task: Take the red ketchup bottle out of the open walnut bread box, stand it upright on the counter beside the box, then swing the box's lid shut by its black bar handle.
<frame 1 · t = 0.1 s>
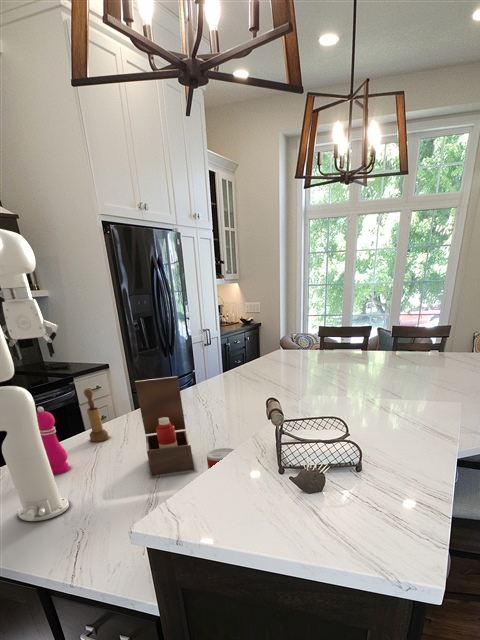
hand: (36, 358, 146), 31 cm above the table, tool pointing down, fingers open, 9 cm apart
bread box: (171, 466, 147), on the table
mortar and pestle: (100, 439, 175), on the table
pepper mill: (59, 470, 150), on the table
bread box lid: (160, 404, 146), point 17 cm above the table, hinge at 88.0°
ketchup bottle: (171, 463, 146), point 1 cm above the table, touching bread box
canned food: (226, 492, 128), on the table
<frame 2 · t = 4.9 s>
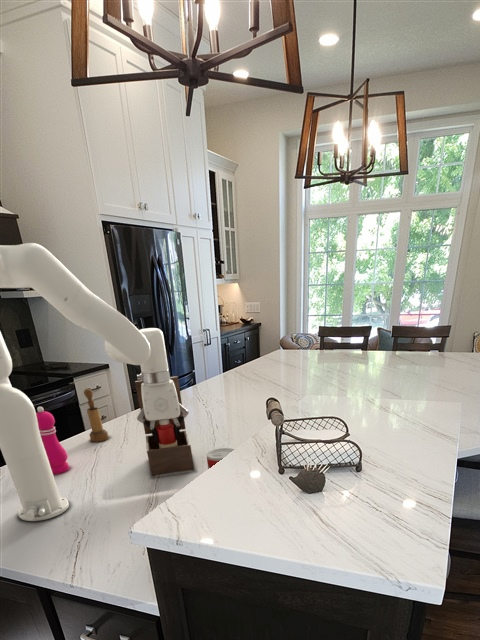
hand: (167, 439, 142), 8 cm above the table, tool pointing down, fingers closed on ketchup bottle, 5 cm apart
ketchup bottle: (171, 463, 146), point 1 cm above the table, touching bread box, gripper
everything else where it was.
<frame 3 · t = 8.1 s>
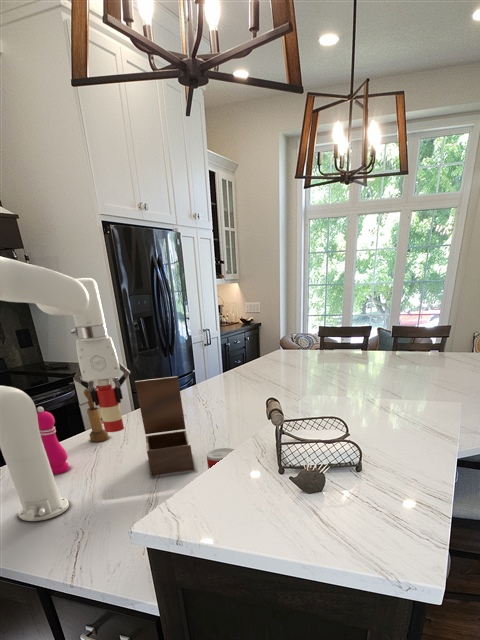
hand: (108, 402, 133), 21 cm above the table, tool pointing down, fingers closed on ketchup bottle, 5 cm apart
ketchup bottle: (114, 429, 137), point 13 cm above the table, touching gripper
everything else where it was.
when the fingers open (8 cm above the table, at t = 11.5 s): ketchup bottle stays where it is, on the table.
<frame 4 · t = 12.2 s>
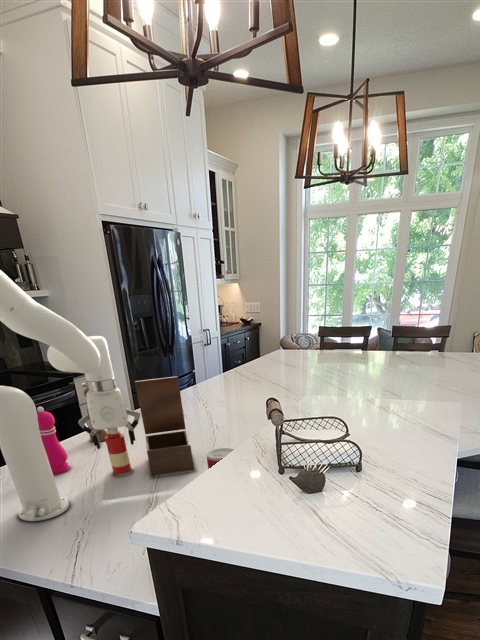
hand: (115, 445, 140), 9 cm above the table, tool pointing down, fingers open, 9 cm apart
ketchup bottle: (122, 472, 145), on the table
everything else where it was.
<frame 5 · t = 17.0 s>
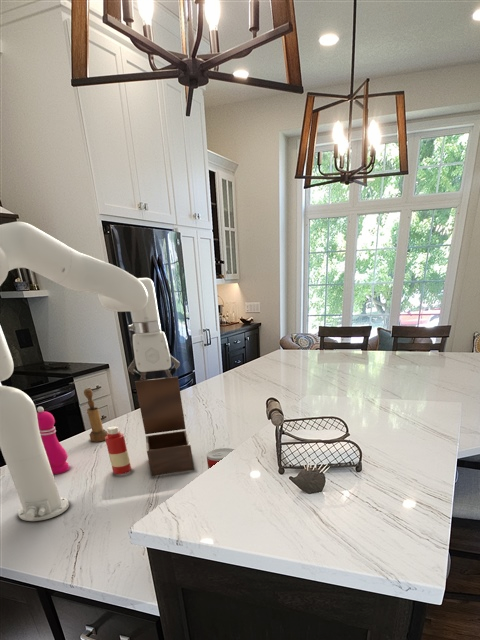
hand: (158, 392, 145), 20 cm above the table, tool pointing down, fingers closed on bread box lid, 6 cm apart
bread box lid: (160, 404, 146), point 17 cm above the table, hinge at 88.0°, touching gripper
everything else where it was.
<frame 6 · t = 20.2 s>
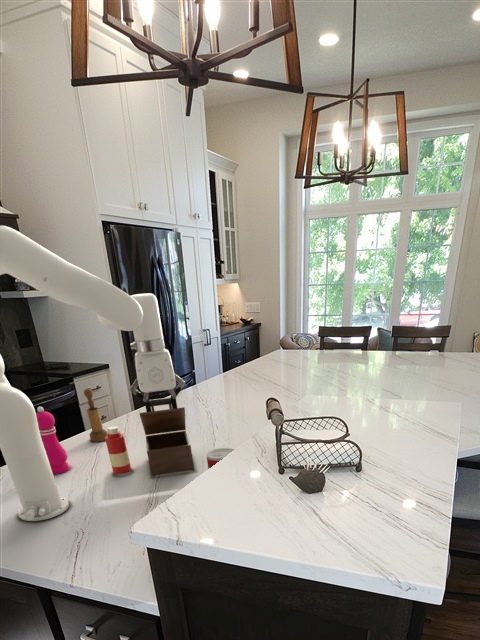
hand: (162, 412, 137), 17 cm above the table, tool pointing down, fingers closed on bread box lid, 6 cm apart
bread box lid: (162, 415, 141), point 15 cm above the table, hinge at 36.5°, touching gripper
everything else where it was.
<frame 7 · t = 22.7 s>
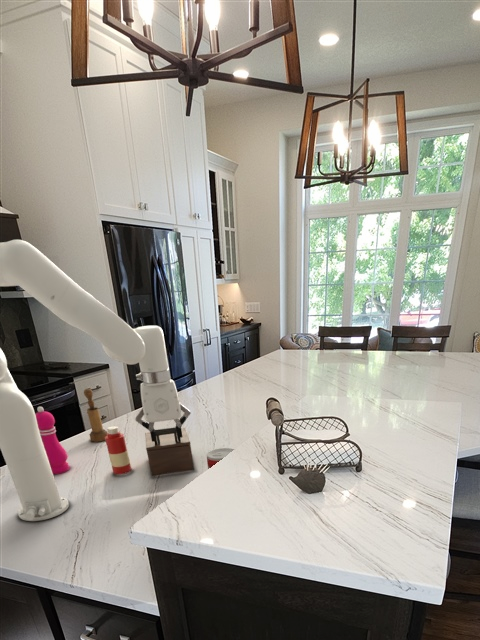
hand: (167, 441, 137), 10 cm above the table, tool pointing down, fingers closed on bread box lid, 6 cm apart
bread box lid: (165, 431, 141), point 11 cm above the table, hinge at 1.3°, touching gripper
everything else where it was.
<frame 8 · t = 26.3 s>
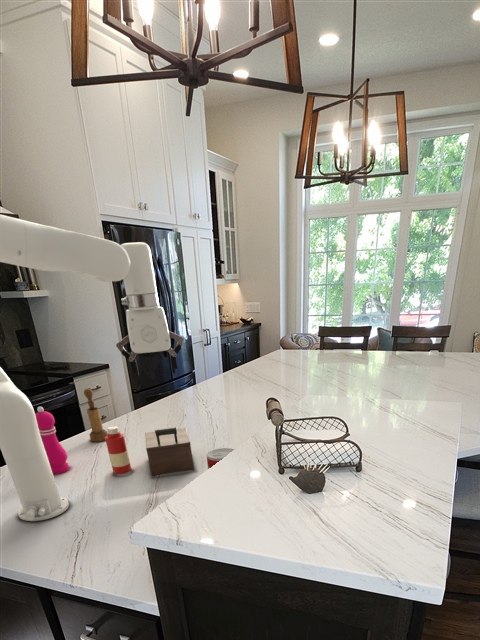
hand: (155, 374, 127), 28 cm above the table, tool pointing down, fingers open, 9 cm apart
bread box lid: (165, 431, 141), point 11 cm above the table, hinge at 1.0°
everything else where it was.
at the end: ketchup bottle inside the target area (0.1 cm from its centre), on the table; ketchup bottle tilted 0°; bread box lid at +1° (first picture: +88°) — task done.
